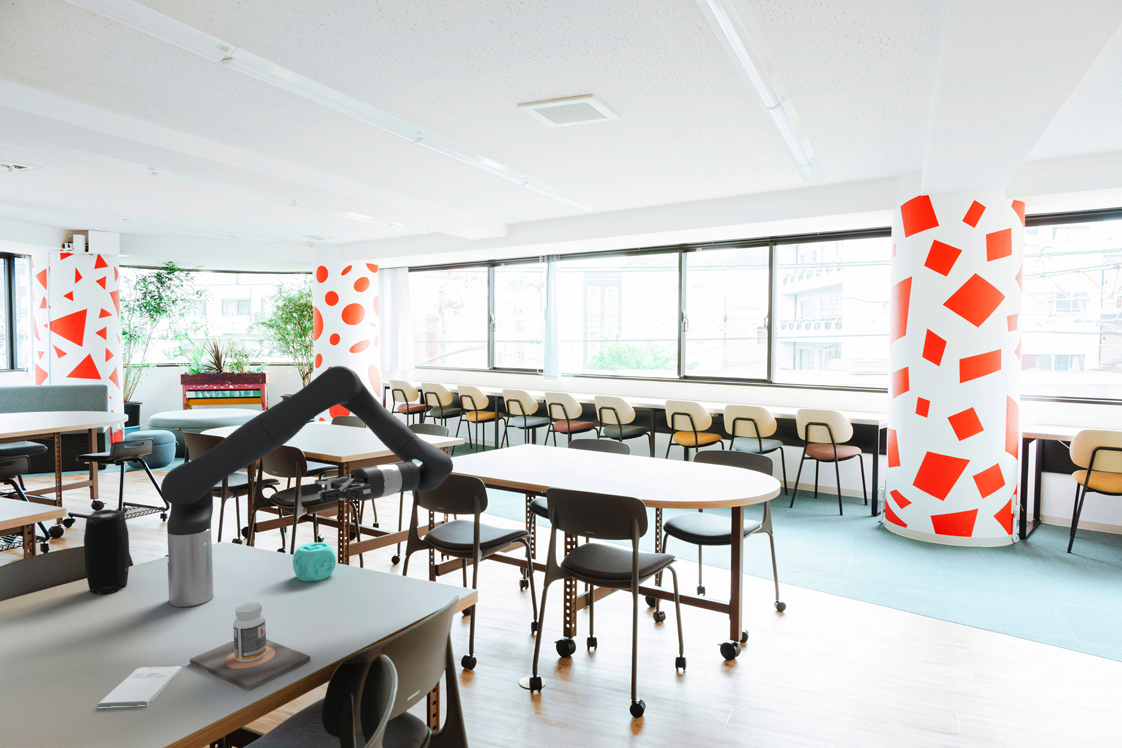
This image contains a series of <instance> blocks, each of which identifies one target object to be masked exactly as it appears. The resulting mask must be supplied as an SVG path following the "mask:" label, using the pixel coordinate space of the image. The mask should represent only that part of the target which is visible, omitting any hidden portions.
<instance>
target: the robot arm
mask: <svg viewBox="0 0 1122 748" xmlns="http://www.w3.org/2000/svg"><path fill="white" fill-rule="evenodd" d="M337 405H339V406H341V407H343V408H344V409H346V410H348V412H350V413H351V414H353V415H355V416H356V417H357V418H359V420H361V422H363V423H364V424H365V426H367V428H369V430H371V432H372V434H374V435H375V436H376V437H377V438H378V440H380V441H381V442H382V444H383V445H384V446H386V448H388V450H390V451H391V453H393V454H394V455H395V456H396V457H397V458H398V459H400V460H401V461H400V462H394V463H385V464H384V463H383V464H377V465H370V466H363V467H358V468H356V469H355V470H354V471H353V473H352V475H351V477H350V478H349V476H338V475H336V476H333V477H326V478H321V479H320V478H319V479H315V480H314V483H308V484H303V485H301V486H300V495H301V496H303V497H306V496H311V495H315V494H319V498H320V499H319V500H320V502H321V503H327V502H332V501H333V502H334V501H336V500H339V501H346V502H351V501H354V500H358V501H360V502H365V501H371V500H375V499H376V500H377V499H380V498H385V497H390V496H393V495H395V494H398V493H405V492H408V491H413V492H414V491H415V492H430V491H433V490H436V489H437V488H439V487H440V486H441V485H442V484H443V483H444V482H445V480H446V479H447V478H448V477H449V476H450V475H451V473H453V470H454V464H453V460H452V458H451V457H450V456H449V454H448V453H447V452H446V451H444V450H442V449H441V448H439V447H437V446H435V445H433V444H431V443H429V442H427V441H426V440H424V439H422V438H421V437H419V436H418V435H417V434H416V433H415V432H414V431H413V430H411V429H410V427H408V426H407V425H406V424H405V423H404V422H403V421H401V420H400V419H399V418H397V416H395V415H394V414H393V413H392V412H390V410H388V409H387V408H386V407H385V406H383V404H381V403H380V402H379V401H378V400H377V398H376V397H374V396H373V394H372V393H371V392H370V391H369V389H368V388H367V387H366V386H365V384H364V382H363V381H362V380H361V377H359V375H358V373H356V372H355V371H353V370H352V369H351V368H349V367H347V366H343V365H336V366H332V367H329V368H327V369H325V370H324V371H323V372H321V373H320V374H319V375H318V376H317V377H316V378H314V379H313V380H312V381H311V382H309V383H307V385H305V386H304V387H303V388H301V389H300V390H299V391H297V392H296V393H294V394H293V395H290V396H289V397H287V398H286V399H284V400H281V401H280V402H278V403H276V404H275V405H272V406H271V407H269V408H268V409H266V410H264V411H262V412H261V413H259V414H258V415H256V416H254V417H252V419H250V420H249V421H246V422H245V423H244V424H243V425H241V426H239V428H236V429H235V430H234V431H233V432H231V433H230V434H229V435H227V436H226V437H225V438H224V439H223V440H222V441H220V442H219V443H218V444H217V445H215V446H214V447H213V448H211V449H210V450H208V451H207V452H205V453H203V454H202V455H199V456H198V457H196V458H194V459H192V460H191V461H186V462H182V463H180V464H179V465H177V466H176V467H174V468H172V469H171V470H170V471H168V472H167V473H166V474H165V476H164V478H163V480H162V482H161V485H160V492H161V495H162V497H163V499H164V500H165V501H166V502H167V503H169V504H170V513H169V517H168V519H167V523H166V529H167V533H166V535H167V553H168V554H167V555H168V559H167V560H168V562H167V578H168V579H167V580H168V581H167V583H168V585H167V586H168V600H169V605H171V606H173V607H177V608H188V607H193V606H198V605H202V604H204V603H205V604H206V603H207V602H209V601H211V599H213V598H214V574H213V573H214V572H213V569H214V567H213V543H212V542H213V541H212V518H213V513H214V511H213V510H214V487H215V486H216V485H217V484H218V483H220V482H222V481H223V480H224V479H225V478H227V477H229V476H230V475H232V474H234V473H236V472H238V471H239V470H241V469H243V468H244V469H245V468H246V467H247V466H250V465H251V464H253V463H255V462H257V461H259V460H261V459H262V458H265V457H266V456H268V455H269V454H271V453H272V452H274V451H276V450H277V449H279V448H280V447H282V446H283V445H285V444H286V443H287V442H289V441H290V440H291V439H292V438H293V437H295V436H296V435H297V434H298V433H299V432H300V431H301V430H302V428H304V427H305V426H306V425H307V424H308V423H309V422H310V421H311V420H312V419H314V418H315V417H317V416H318V415H320V414H323V412H325V411H327V410H329V409H331V408H333V407H335V406H337ZM414 459H415V460H417V461H419V462H421V464H420V465H417V464H416V463H415V462H414V461H413V462H412V460H414ZM323 485H324V487H323Z"/></svg>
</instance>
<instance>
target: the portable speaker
mask: <svg viewBox="0 0 1122 748" xmlns="http://www.w3.org/2000/svg"><path fill="white" fill-rule="evenodd" d="M129 537H130V535H129V529H128V524H127V520H126V517H125V510H114V509H101V510H96V511H94V512H92V513H91V514H90V515H88V516H86V522H85V529H84V536H83V549H84V550H83V551H84V553H83V554H84V569H85V573H86V580H87V584H88V585H87V586H88V589H89V591H90V592H97V593H98V594H100V595H101V596H102V595H108V594H111V593H112V594H113V593H117V592H119V589H120V588H121V587H126V586H128V580H129V568H130V559H131V556H130V539H129Z"/></svg>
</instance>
